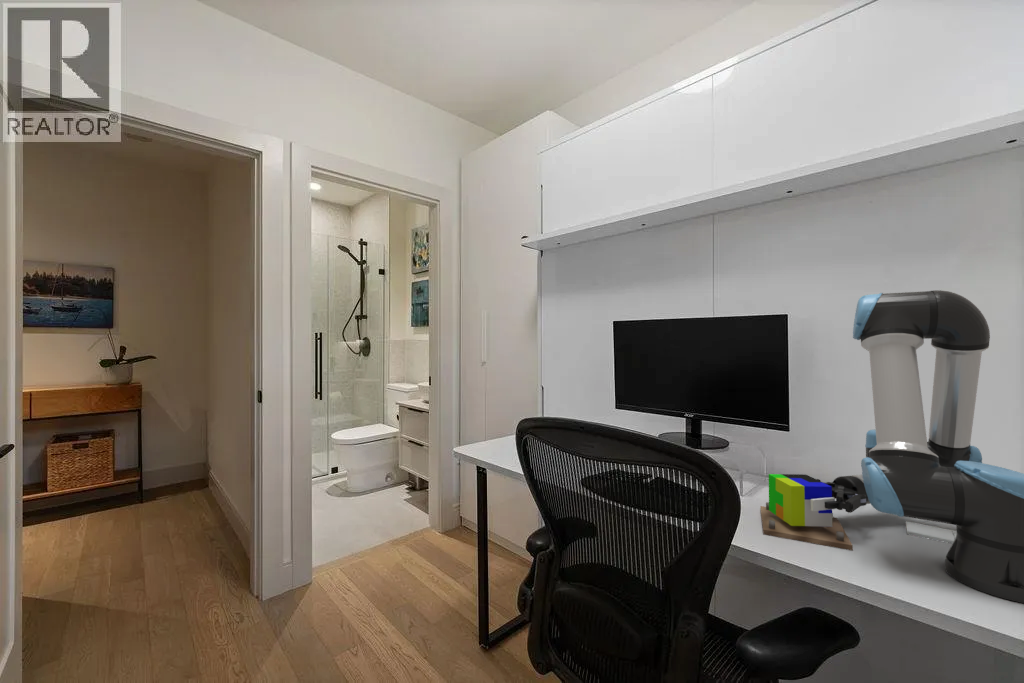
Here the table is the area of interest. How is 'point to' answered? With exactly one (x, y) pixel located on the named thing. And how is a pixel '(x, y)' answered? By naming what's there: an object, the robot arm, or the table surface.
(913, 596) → the table surface
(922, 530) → the external hard drive
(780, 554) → the table surface
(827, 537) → the base plate
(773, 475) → the puzzle toy
